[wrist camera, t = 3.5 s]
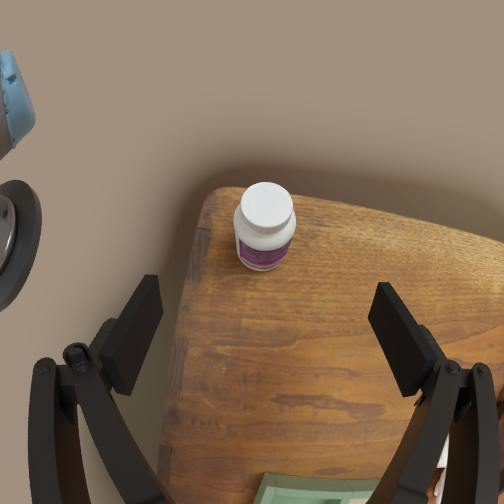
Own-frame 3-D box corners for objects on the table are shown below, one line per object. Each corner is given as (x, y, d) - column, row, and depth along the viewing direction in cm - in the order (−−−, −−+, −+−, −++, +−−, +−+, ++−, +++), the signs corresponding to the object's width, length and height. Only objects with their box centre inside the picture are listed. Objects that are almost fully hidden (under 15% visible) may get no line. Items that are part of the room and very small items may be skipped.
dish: (433, 517, 17) (450, 529, 12) (476, 382, 24) (501, 382, 20) (499, 488, 16) (516, 493, 12) (531, 373, 24) (551, 371, 19)
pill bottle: (296, 255, 30) (316, 215, 21) (253, 281, 29) (256, 250, 20) (268, 216, 31) (276, 164, 22) (227, 239, 30) (218, 193, 21)
